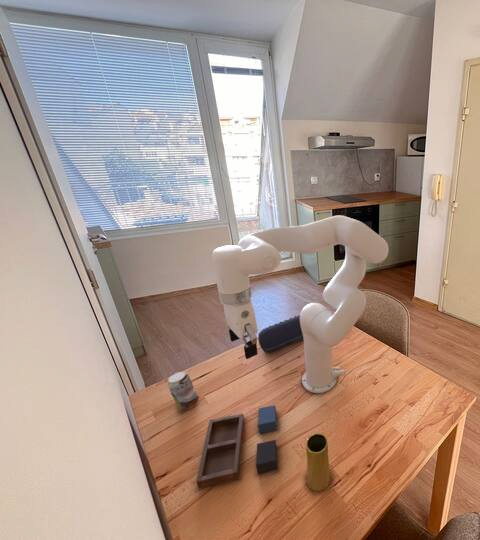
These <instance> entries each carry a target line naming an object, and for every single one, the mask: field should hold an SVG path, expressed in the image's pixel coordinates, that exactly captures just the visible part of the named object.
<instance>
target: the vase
mask: <svg viewBox="0 0 480 540" xmlns="http://www.w3.org/2000/svg"><path fill="white" fill-rule="evenodd" d="M305 451H306V470H307V471H306V472H307V475H306V483H307V486H308V488H309V489H311V490H313V491H315V492H320V491H324V490H325V489H326V488H327V487H328V485H329V484H330V482H331V472H330V459H329V441H328V438H327V436H326V435H325V434H323V433H319V432H315V433H312V434H311V435H310V436H308V438H307V439H306V442H305Z"/></svg>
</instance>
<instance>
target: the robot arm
mask: <svg viewBox="0 0 480 540" xmlns="http://www.w3.org/2000/svg"><path fill="white" fill-rule="evenodd" d="M337 245H341V246H343V247H344V250H345V256H344V261H343V264H342V266H341V267H340V268H339V270H338V271H337V272H336V274H335V275H334V276H333V277H332V279H331V280H330V281H329V282H328V283H327V285H326V286H325V288H324V290H323V291H322V299H323V300H324V302H325V303H326V304H327V305H329V306H330V307H331V308H333V309H334V310H335V312H333V311H332V310H330V309H329V308H328V307H326V306H325V305H323V304H321V303H317V302H311V303H308V304H305V306H304V307H303V308H302V309H301V311H300V313H299V315H300V326H301V330H302V333H303V338H302V340H303V351H304V352H303V353H304V364H305V365H304V366H305V367H304V368H305V372H304V373H303V374H302V377H301V383H302V386H303V388H304V389H305V390H306V391H308V392H310V393H313V394H322V393H326V392H329V391H330V390H331V389H333V388H334V386H336V384H337V379H338V378H337V377H339V376H340V377H341V376H345V375H346V370H345V369H341V366H340V365H338V366H333V348H334V347H336V346H338V345H339V344H340V343H341V342H343V340H344V339H345V338H346V337H347V335H348V334H349V332H350V331H351V330H352V328H354V326H355V325H356V323H357V321H359V319H360V318H361V317H362V315H363V314H364V312H365V309H366V306H367V297H366V294H365V293H364V292H363V291H362V290H361V289H359V288H358V287H359V285H360V284H361V283H362V282H363V280H364V278H365V276H366V272H367V271H366V270H367V263H366V262H368V263H370V264H375V265H378V264H381V263H383V262H384V261H385V260H386V259H387V257H388V256H389V251H390V250H389V245H388V242H387V241H386V240H385V239H384V238H383V237H382V236H381V235H379V233H377V232H376V231H374V230H373V229H372V228H370V227H369V226H368V225H367V224H365V223H364V222H363V221H360V220H357V219H354V218H351V217H348V216H345V215H341V214H340V215H339V214H338V215H333V216H329V217H327V218H326V217H325V218H322V219H321V220H316V221H312V222H310V223H306V224H302V225H291V226H279V227H271V228H267V229H262V230H259V231H256V232H252V233H250V234H247V235H245V236H244V237H242V238H241V239H240V240H239V241H238V243H237V245H233V244H232V245H223V246H220V247H217V248H215V249H214V250H213V251H212V254H211V260H212V265H213V270H214V276H215V281H216V288H217V293H218V297H219V298H218V299H219V303H220V304H221V305H222V306H223V312H224V317H225V322H226V325H227V328H228V335H229V340H230V342H235V341H237V340H242V342H243V345H244V346H243V350H244V351H243V353H244V356H245V359H246V360H249V359H252V358H253V357H255V356H257V355H258V353H259V352H258V336H257V334H258V333H259V332H258V331H259V329H258V324H257V320H256V314H255V310H254V305H253V303H252V289H251V284H250V275H251V276H252V275H263V274H269V273H271V272H274V271H275V270H276V269H278V267H279V266H280V265H281V261H282V255H281V253H283V252H289V253H296V254H303V255H304V254H305V255H307V254H308V255H311V254H315V253H318V252H321V251H324V250H326V249H328V248H331V247H335V246H337ZM247 338H249V340H248V341H247Z"/></svg>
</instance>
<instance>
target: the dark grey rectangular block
mask: <svg viewBox="0 0 480 540" xmlns="http://www.w3.org/2000/svg"><path fill="white" fill-rule="evenodd" d="M277 446H278V445H277V439H272V440H268V441H263V442H259V443H257V444H256V458H255V467H256V471H257V475H261V474H266V473H269V472H273V471H277V470H278V447H277Z"/></svg>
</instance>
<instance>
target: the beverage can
mask: <svg viewBox="0 0 480 540" xmlns="http://www.w3.org/2000/svg"><path fill="white" fill-rule="evenodd" d="M167 388H168V389H169V391H170V394H171V396H172V398H173V400H174V402H175V404H176V407H177V409H178V410H180V411H185V410H189V409H191V408H192V407H195V405H196V404H197V403H198V401H199V397H198V394H197V392H196V389H195V387H194V385H193V382H192V379H191V377H190V375H189V373H187V372H185V371H184V370H182V371H177V372H175V373H173V374H172V375H170V376H169V378H168V380H167Z"/></svg>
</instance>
